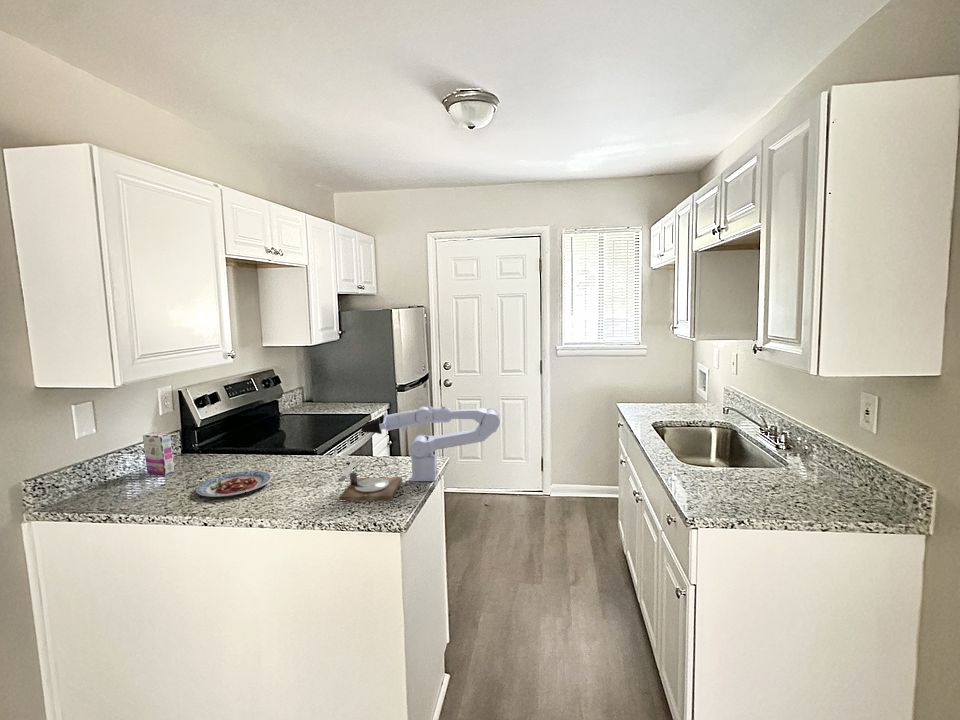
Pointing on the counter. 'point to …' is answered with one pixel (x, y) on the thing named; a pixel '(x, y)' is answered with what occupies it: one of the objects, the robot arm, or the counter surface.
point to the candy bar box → (159, 453)
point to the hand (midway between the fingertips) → (364, 427)
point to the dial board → (380, 495)
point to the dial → (368, 484)
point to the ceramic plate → (233, 483)
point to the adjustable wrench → (350, 467)
